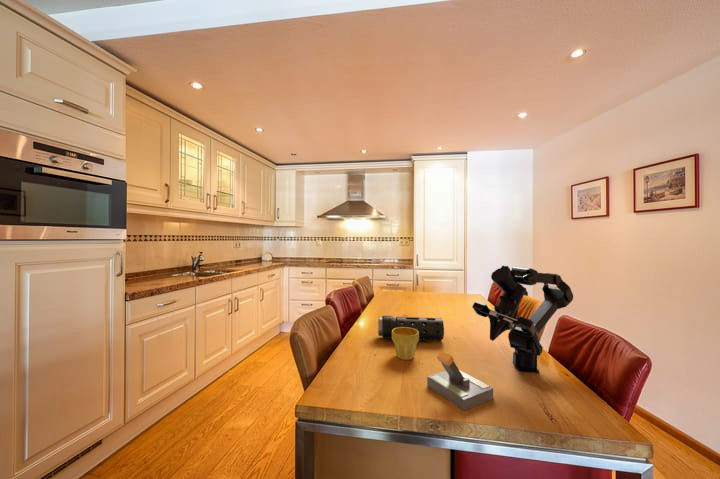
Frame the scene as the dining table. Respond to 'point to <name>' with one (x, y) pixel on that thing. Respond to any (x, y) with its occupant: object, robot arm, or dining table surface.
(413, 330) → the plant pot
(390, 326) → the muzzle brake
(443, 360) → the handle
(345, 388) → the dining table surface
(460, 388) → the switch base
